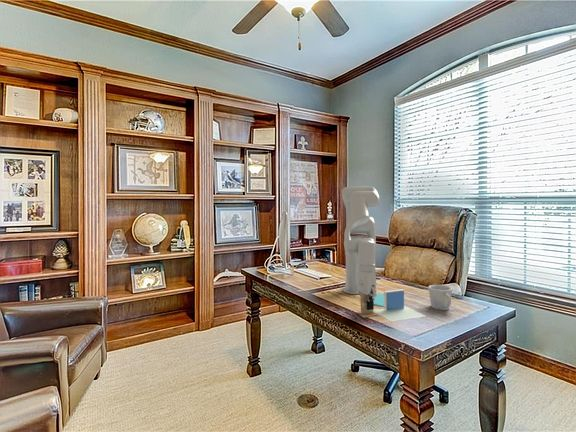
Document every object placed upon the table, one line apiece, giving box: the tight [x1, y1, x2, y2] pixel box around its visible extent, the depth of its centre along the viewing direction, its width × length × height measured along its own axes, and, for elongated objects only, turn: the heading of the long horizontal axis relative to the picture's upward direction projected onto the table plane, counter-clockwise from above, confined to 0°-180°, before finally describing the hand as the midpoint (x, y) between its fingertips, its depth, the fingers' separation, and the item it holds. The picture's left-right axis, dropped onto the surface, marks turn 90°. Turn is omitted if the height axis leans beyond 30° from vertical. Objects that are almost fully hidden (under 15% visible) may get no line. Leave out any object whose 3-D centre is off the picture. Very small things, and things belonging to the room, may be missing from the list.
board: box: [373, 305, 427, 322], centre depth 147 cm, size 15×18×1 cm
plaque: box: [374, 292, 384, 308], centre depth 166 cm, size 18×2×20 cm
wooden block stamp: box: [356, 292, 379, 319], centre depth 147 cm, size 6×7×11 cm
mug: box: [428, 284, 453, 311], centre depth 152 cm, size 10×15×10 cm
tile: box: [383, 288, 405, 311], centre depth 152 cm, size 2×10×9 cm, turn 107°
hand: (367, 307), depth 147 cm, fingers open, 4 cm apart
